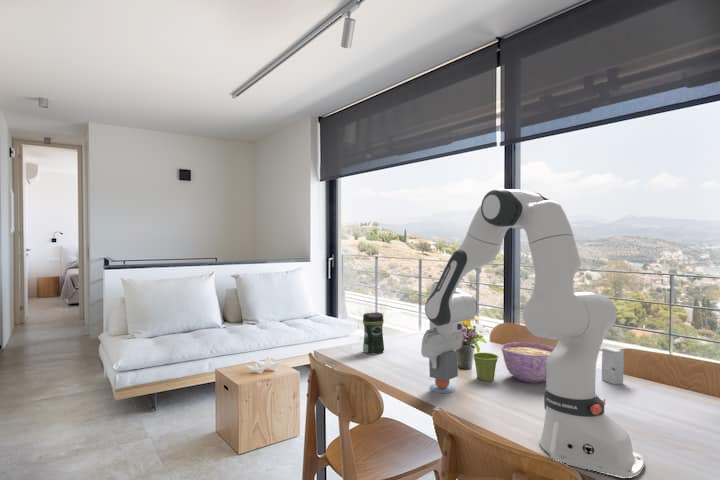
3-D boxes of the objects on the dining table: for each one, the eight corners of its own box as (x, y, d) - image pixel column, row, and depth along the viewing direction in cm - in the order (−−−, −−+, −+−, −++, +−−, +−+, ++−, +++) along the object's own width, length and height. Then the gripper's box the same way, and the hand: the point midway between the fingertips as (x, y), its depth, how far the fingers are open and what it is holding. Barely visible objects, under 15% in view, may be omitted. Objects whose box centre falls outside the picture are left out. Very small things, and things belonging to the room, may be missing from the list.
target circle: (460, 388, 152) (460, 388, 152) (445, 395, 145) (445, 394, 145) (439, 382, 158) (439, 382, 158) (424, 388, 152) (424, 388, 152)
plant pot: (500, 383, 157) (499, 359, 157) (473, 381, 159) (473, 358, 159) (497, 375, 166) (497, 353, 166) (472, 374, 168) (472, 352, 168)
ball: (438, 374, 156) (444, 388, 154) (430, 378, 152) (435, 392, 151) (448, 370, 153) (454, 384, 151) (440, 374, 149) (446, 388, 148)
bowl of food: (568, 388, 152) (568, 355, 152) (512, 388, 152) (512, 355, 152) (544, 371, 172) (544, 342, 172) (494, 371, 172) (494, 342, 172)
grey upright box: (457, 376, 151) (456, 351, 152) (446, 380, 146) (445, 354, 147) (441, 372, 156) (440, 348, 157) (429, 377, 151) (428, 352, 152)
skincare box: (600, 379, 161) (600, 347, 161) (610, 378, 162) (610, 346, 162) (615, 385, 155) (614, 351, 155) (624, 383, 156) (624, 350, 157)
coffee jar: (379, 349, 208) (378, 310, 208) (386, 353, 200) (386, 313, 200) (360, 351, 204) (360, 312, 204) (367, 355, 196) (367, 314, 197)
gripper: (432, 332, 142) (432, 373, 142) (465, 323, 157) (465, 361, 157) (416, 329, 147) (416, 369, 147) (450, 321, 161) (450, 358, 161)
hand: (442, 365), depth 152 cm, fingers closed on grey upright box, 7 cm apart
